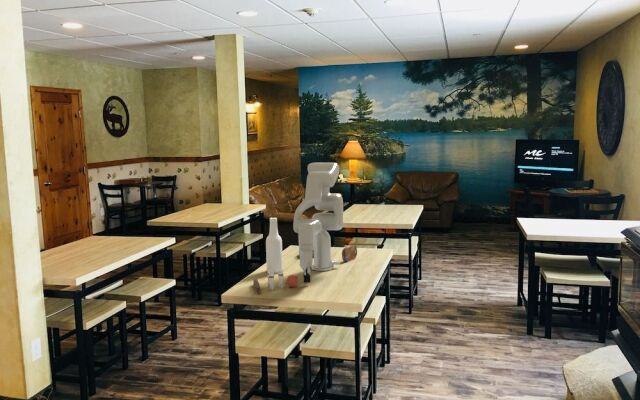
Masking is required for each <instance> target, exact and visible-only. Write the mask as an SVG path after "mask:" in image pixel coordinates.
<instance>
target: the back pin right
mask: <svg viewBox="0 0 640 400" xmlns="http://www.w3.org/2000/svg"><path fill="white" fill-rule="evenodd" d="M269 272H273V270H268V271H267V285H268V286H267V287H268V288H269Z"/></svg>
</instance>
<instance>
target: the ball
mask: <svg viewBox="0 0 640 400" xmlns="http://www.w3.org/2000/svg"><path fill="white" fill-rule="evenodd" d="M285 281H286V285H287V286H288V287H289V288H294V287H297V286H298V284H299V278H298V277H297V275H294V274H291V275H288V276H287V278H286V280H285Z"/></svg>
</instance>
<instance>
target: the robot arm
mask: <svg viewBox="0 0 640 400" xmlns="http://www.w3.org/2000/svg"><path fill="white" fill-rule="evenodd" d="M307 172H308V174H307V176H306V184H305V187H306V188H305V194H304V199H303V201H302V202H301V203H300V204H299V205H298V206H297V208H296V210H295V212H294V215H293V225H292V226H293V231H294V232H295V233H297V234H298V251H299V250H300V256H299V267H300V269H301V270H302V271H303V283H304V284H308V283H311V271H312V270H313V271H317V272H326V271H327V272H328V271H331V270H334V269H335V268H334V266H335V265H340V261H339V260H338V261H337V260H332V256H331V253H332V251H331V249H332V248H331V246H332V244H331V238H332V237H331V236H330V234H329V232H328V231H341V230H342V229H343V226H344V201H343V199H344V198H343V197H342V195H341V194H340V193H331V192H330V188H333V187H334V186H335V183H337V179H338V178H339V174H340V165H339V164H338V163H337V162H311V163H309V164H308V165H307ZM313 206H314V208H315V210H318V211H327V212H316V213H314V214H313V215H312V217H311V218H302V214H303V213H304V212H305V211H306V210H308V209H309V208H311V207H313ZM328 211H331V212H328ZM312 250H314V257H312Z"/></svg>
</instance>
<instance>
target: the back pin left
mask: <svg viewBox="0 0 640 400" xmlns="http://www.w3.org/2000/svg"><path fill="white" fill-rule="evenodd" d="M268 288H269V290H270V291H275V273H274V272H269V287H268Z"/></svg>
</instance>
